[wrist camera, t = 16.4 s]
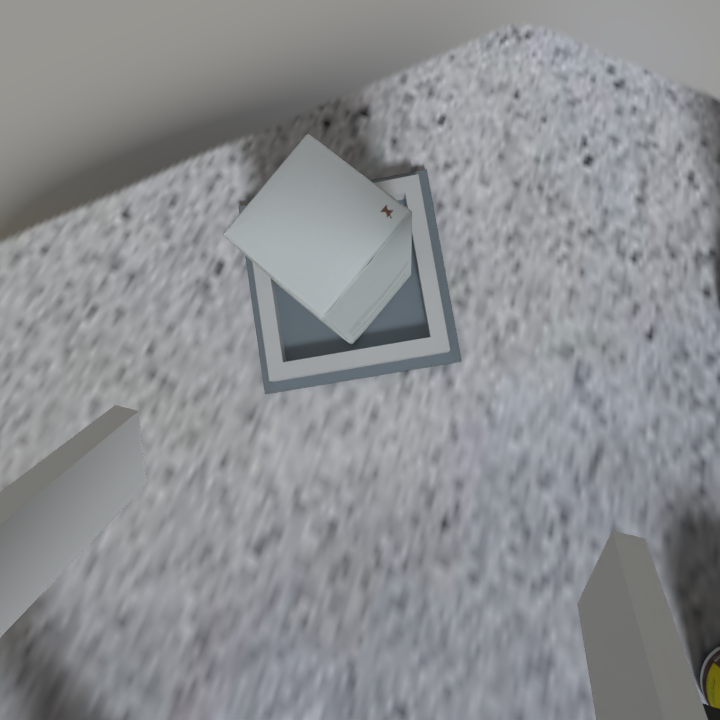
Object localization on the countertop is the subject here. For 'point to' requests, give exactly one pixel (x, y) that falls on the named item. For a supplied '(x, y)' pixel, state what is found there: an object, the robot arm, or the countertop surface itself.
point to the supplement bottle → (711, 678)
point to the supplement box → (328, 238)
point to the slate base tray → (387, 331)
